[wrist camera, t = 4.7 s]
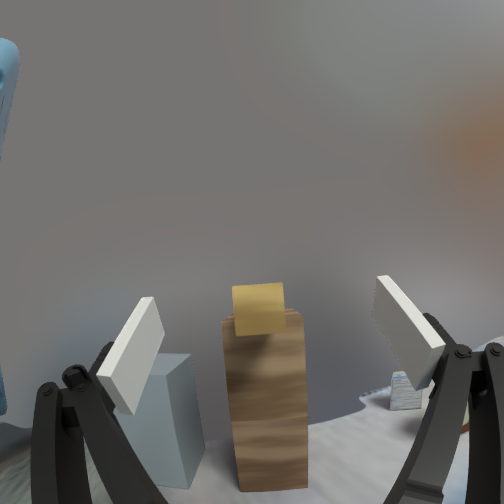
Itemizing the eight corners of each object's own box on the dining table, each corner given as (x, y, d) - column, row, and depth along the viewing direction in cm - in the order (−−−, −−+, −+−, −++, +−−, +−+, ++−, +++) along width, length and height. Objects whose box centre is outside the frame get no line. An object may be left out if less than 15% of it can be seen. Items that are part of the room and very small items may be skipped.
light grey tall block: (188, 489, 30) (166, 375, 33) (131, 479, 30) (103, 370, 33) (205, 448, 44) (191, 353, 47) (157, 444, 44) (141, 352, 47)
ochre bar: (286, 332, 22) (282, 282, 22) (235, 336, 22) (232, 286, 22) (273, 308, 51) (271, 287, 52) (251, 310, 51) (250, 288, 52)
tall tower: (307, 487, 29) (302, 315, 33) (240, 491, 30) (221, 321, 34) (296, 436, 47) (289, 307, 51) (247, 439, 48) (235, 311, 51)
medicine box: (421, 401, 50) (424, 368, 51) (421, 409, 46) (424, 374, 47) (391, 403, 54) (392, 371, 55) (389, 411, 50) (391, 377, 51)
